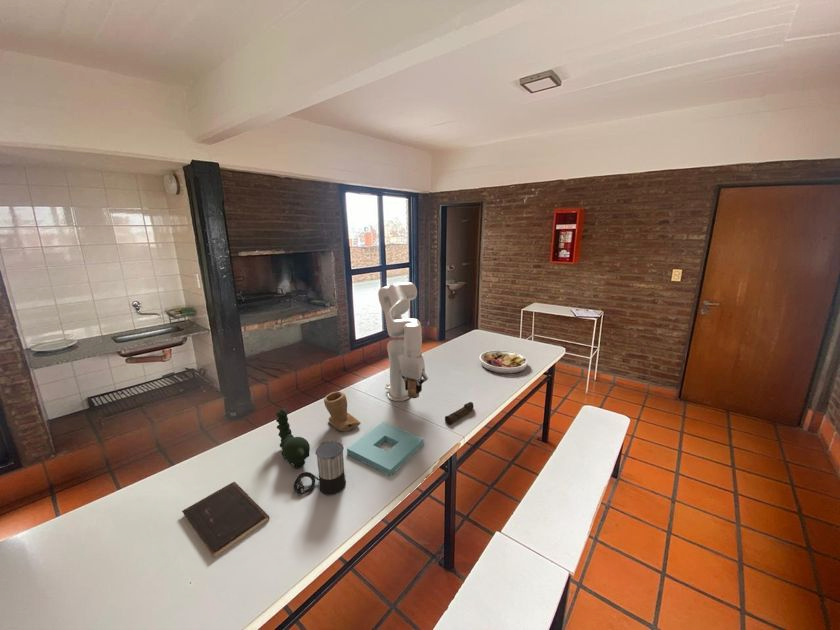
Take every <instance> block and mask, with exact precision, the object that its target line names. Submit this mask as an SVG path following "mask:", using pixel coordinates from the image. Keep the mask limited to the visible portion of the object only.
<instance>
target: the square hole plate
mask: <svg viewBox="0 0 840 630" xmlns="http://www.w3.org/2000/svg"><path fill="white" fill-rule="evenodd" d="M424 441H425V439H424V438H423V437H421V436H418V435H416V434H414V433H411V432H409V431H407V430H404V429H401V428H398V427H396V426H395V425H392V424H389V423H386V422H384V421H382V422H380V423H379V424H378V425H376V426H375V427H374V428H373V429H371V430H370V431H368V432H367V433H365V434H364V435H363V436H362V437H360V438H358V439H357V440H356V441H355V442H353V443H352V444H351V445H350V446H348V447H347V448H346V454H347V455H349V456H350V457H353V458H355V459H356V460H358V461H360V462H363V463H364V464H367V465H369V466H370V467H372V468H374V469H376V470H378V471H380V472H382V473H384V474H387V475H389V476H390V477H391V476H392V475H393V474H395V472H396V471H397V470H398V469H400V467H401V466H403V464H404V463H406V462H407V461H408V460H409V459H410V458H411V457H412V456H413V455H414V454H415V453H417V451H418V450H419V449H420V448H421V447H422V446H423V445H424V443H425V442H424ZM384 442H387V443H389V444H391V445H393V447H391V448H390V449H389V450H388V451H387V450H384V449H382V448H381V447H379V446H381V445H382V444H383V443H384Z"/></svg>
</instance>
